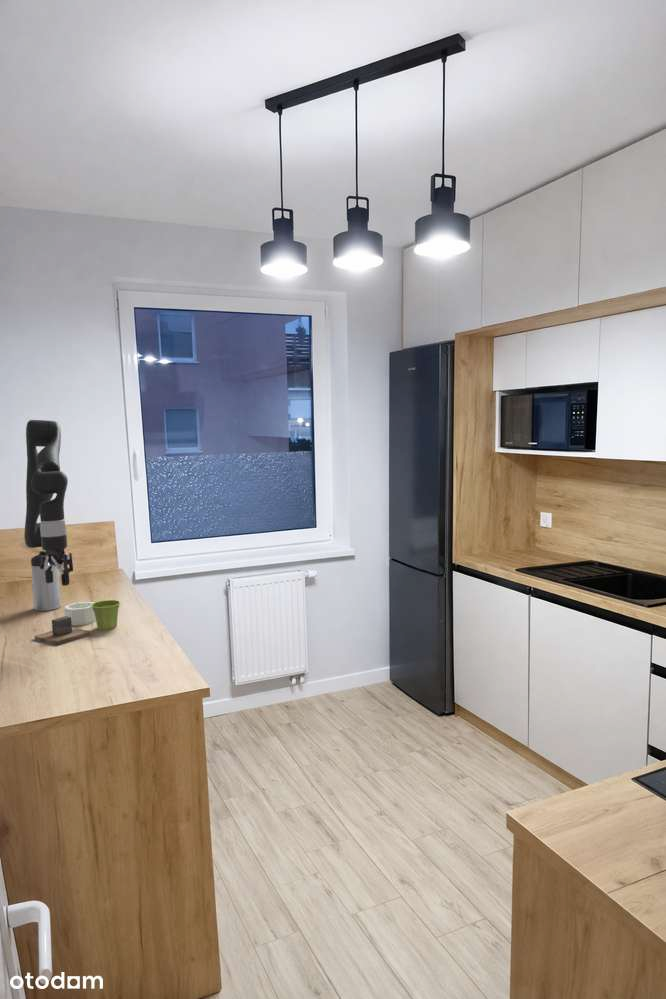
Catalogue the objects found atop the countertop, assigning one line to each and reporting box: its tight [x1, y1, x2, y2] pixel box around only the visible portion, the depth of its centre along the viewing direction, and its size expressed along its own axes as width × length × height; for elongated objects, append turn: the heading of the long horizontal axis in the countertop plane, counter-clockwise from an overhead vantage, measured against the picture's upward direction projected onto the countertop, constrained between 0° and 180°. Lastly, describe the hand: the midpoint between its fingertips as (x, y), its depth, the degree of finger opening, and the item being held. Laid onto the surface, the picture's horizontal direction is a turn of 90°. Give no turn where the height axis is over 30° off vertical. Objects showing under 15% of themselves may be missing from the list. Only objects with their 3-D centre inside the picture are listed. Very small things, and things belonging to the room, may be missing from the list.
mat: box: [30, 632, 95, 648], centre depth 211 cm, size 14×14×1 cm
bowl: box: [63, 601, 96, 626], centre depth 230 cm, size 10×10×6 cm
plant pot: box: [91, 599, 121, 631], centre depth 221 cm, size 9×9×9 cm
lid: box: [34, 615, 91, 645], centre depth 211 cm, size 12×12×6 cm
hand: (57, 583), depth 209 cm, fingers open, 8 cm apart
